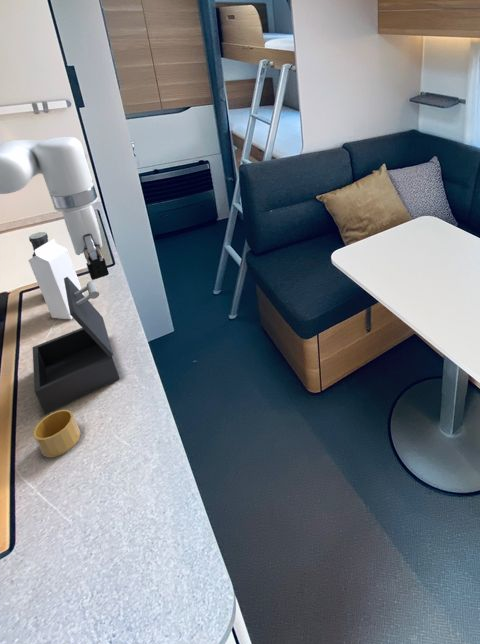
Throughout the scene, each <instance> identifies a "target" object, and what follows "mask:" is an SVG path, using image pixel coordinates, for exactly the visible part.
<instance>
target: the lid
mask: <svg viewBox="0 0 480 644" xmlns="http://www.w3.org/2000/svg"><path fill="white" fill-rule="evenodd" d="M64 282H65V288H66V294H67V299H68V305H69V311H70V315H71V316H72V317H73V318H72V319H74V321H75V322H76V323H77V324H78V325H79V326H80V328H83V329H84V330H85V331H86V332H87V333H88V334H89V335H90V336H91V338H92V339H93V340H94V341H95V342H96V343H97V344H98V345H99V346H100V347H101V348H102V349H103V350H104V352H105V353H106V354H107V355H108V356H109V357H111V356H114V352H113V348H112V345H111V341H110V338H109V334H108V330H107V327H106V323H105V321H104V317H103V316H102V315H101V314H100V312H99V311H98V310H97V309H96V308H95V306H94V305H93V304H92V303H91V302H90V301H89V300H90V299H92V300H94V299H98V298H99V297H100V291H99V288H98V285H97V282H96V280H90V281H88V282H87V283H86V286H84V287H81V288H82V289H81V290H79V289H78V288H77V287H76V286H75V285H74V284H73V282H72V281H71V280H70V279H69V278H68V277H66V278H64ZM85 292H87V293H88V295H86V296H85V294H84V293H85ZM82 293H83V294H84V295H83V294H82Z"/></svg>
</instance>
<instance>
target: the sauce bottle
mask: <svg viewBox="0 0 480 644" xmlns="http://www.w3.org/2000/svg"><path fill="white" fill-rule="evenodd" d="M48 238H49V236H48V233H47V232H46V231H39V232H35V233H32V234H30V235H29V236H28V240H29V242H30V243H31V245H32V249H33V253H32V258H33V257H34V256H36V255H35V252H34V250H35V249H37V248H39V247H40V246H42V245H44V244H45V243H47V242H49V241H50V240H49V239H48Z"/></svg>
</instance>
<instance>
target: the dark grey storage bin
mask: <svg viewBox="0 0 480 644" xmlns="http://www.w3.org/2000/svg"><path fill="white" fill-rule="evenodd" d="M32 363H33V364H32V366H33V367H32V368H33V388H34V394H35V396H36V399H37V400H38V403H39V405H40V407H41V410H42V412H43V413H44V415H46V414H47V415H48V414H49V413H51V412H54V411H55V410H57V409H59V408H62V407H64V406H65V405H67V404H70V403H71V402H73V401H76V400H78V399H80V398H82V397H85V396H86V395H89V394H90V393H93V392H94V391H97V390H99V389H101V388H104V387H105V386H107V385H110V384H112V383H114V382H116V381H118V380H120V375H119V371H118V367H117V363H116V361H115V357H114V355H113V356H111V357H109V356H108V355H107V354H106V353H105V352H104V350H103V349H102V348H101V347H100V346H99V345H98V344H97V343H96V342H95V341H94V340H93V339H92V338H91V336H90V335H89V334H88V333H87V332H86V331H85V330H84V329H83V328H82V327H80V328H78V329H75V330H72V331H69V332H67V333H64V334H62V335H60V336H58V337H55V338H52V339H50V340H47V341H45V342H41V343H39V344H38V345H37V344H36V345H34V346H32Z"/></svg>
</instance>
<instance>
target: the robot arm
mask: <svg viewBox="0 0 480 644" xmlns="http://www.w3.org/2000/svg"><path fill="white" fill-rule="evenodd" d="M39 174H41V175H42V176H43V180H44V182H45V185H46V188H47V192H48V194H49V196H50V199H51V202H52V205H53V209H54V210H55V211H57V212H62V216H63V220H64V223H65V226H66V230H67V232H68V235H69V238H70V241H71V244H72V247H73V250H74V253H75V255H76V256H80V255H82V254H83V256H84V258H85V260H86V266H87V270H88V273H89V276H90V280H91V281H96V280H97V279H100V278H105V277H107V276H108V275H110V273H109V272H110V271H109V270H108V266H107V263H106V260H105V257H103V252H102V250H101V249H102V248H103V240H102V235H101V231H100V226H99V222H98V218H97V214H96V212H95V211H96V210H95V207H94V204H96V203H97V202H98V200H99V197H98V195H97V192H96V188H95V184H94V181H93V177H92V174H91V171H90V167H89V165H88V160H87V157H86V154H85V151H84V147H83V144H82V142H81V141H80V140H79V139H78V138H76V137H74V136H59V137H52V138H47V139H14V140H13V139H12V140H8V141H7V140H6V141H4V142H1V143H0V195H7V194H12V193H16V192H18V191H21V190H22V189H24V188H25V187H26V186H27V185H28V184H29V183H30V182H31V180H32V179H33V178H35V176H37V175H39Z"/></svg>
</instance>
